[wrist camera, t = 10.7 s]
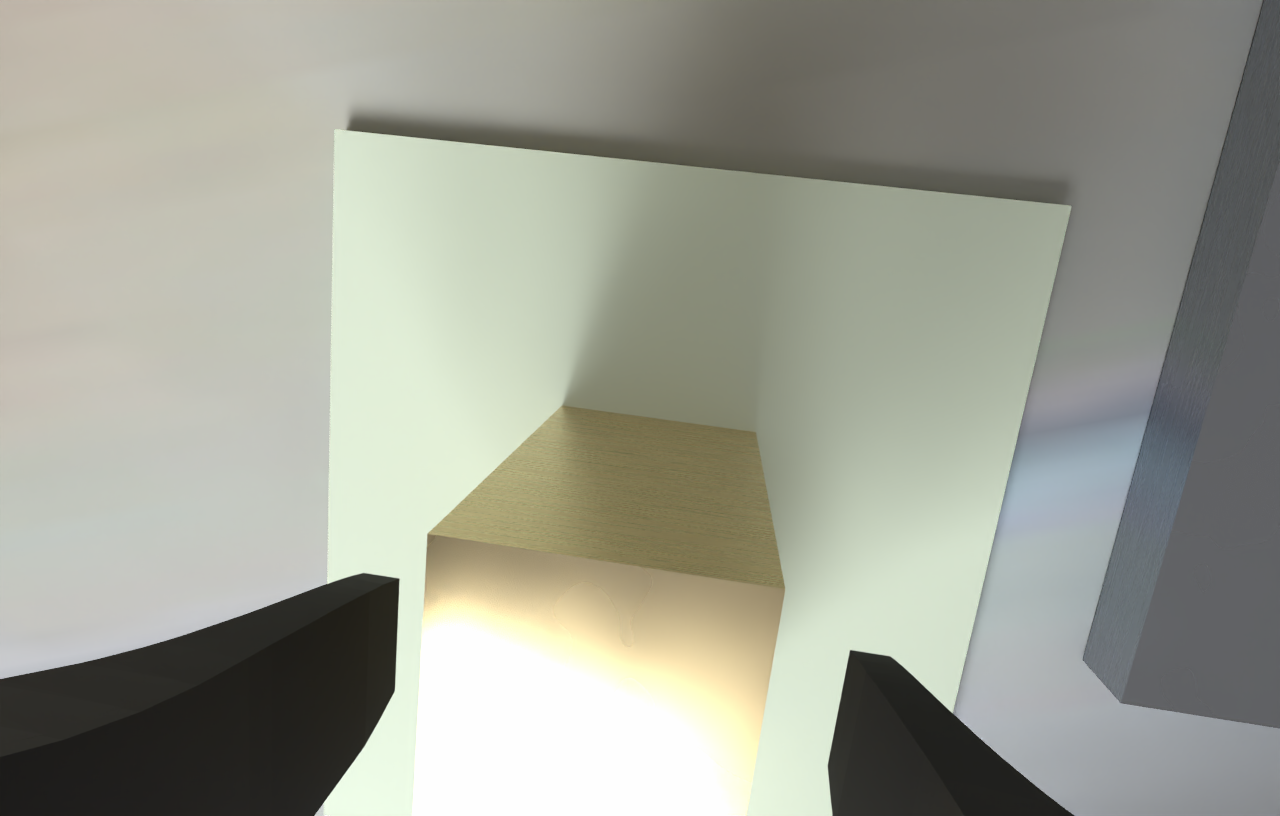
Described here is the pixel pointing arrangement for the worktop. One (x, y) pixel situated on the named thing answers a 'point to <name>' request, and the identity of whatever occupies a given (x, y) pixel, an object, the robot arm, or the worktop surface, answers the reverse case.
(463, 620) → the tan rectangular block
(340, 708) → the robot arm
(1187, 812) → the worktop surface
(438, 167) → the sage mat
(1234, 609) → the iron frame
